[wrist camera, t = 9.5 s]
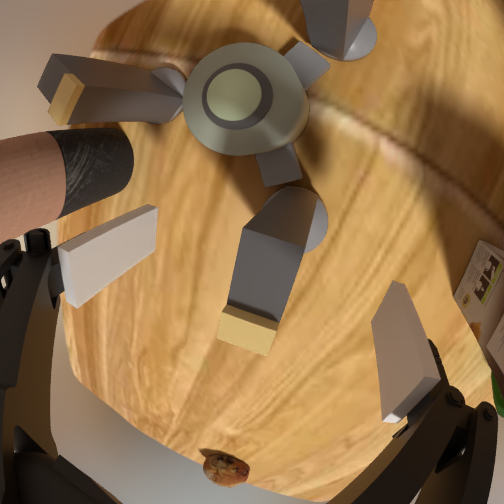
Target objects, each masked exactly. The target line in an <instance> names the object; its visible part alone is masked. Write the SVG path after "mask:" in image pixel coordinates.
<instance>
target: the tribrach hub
mask: <svg viewBox="0 0 504 504" xmlns="http://www.w3.org/2000/svg"><path fill="white" fill-rule="evenodd" d="M329 69H330V63H328V62H327V61H326V60H325V59H323V58H322V57H321V56H320V55H318V54H317V53H316V52H314V51H313V50H312V49H311V48H309V47H308V46H306V45H305V44H304V43H302V42H301V41H299V42H298V43H297V44H296V45H295V46H294V47H293V48H292V49H291V50H290V51H288V52H287V53H286V54H285V55H284V56H282V55H281V54H280V53H278V52H277V51H275V50H273V49H271V48H269V47H267V46H264V45H261V44H257V43H249V42H243V43H234V44H229V45H226V46H223V47H220V48H218V49H216V50H214V51H212V52H211V53H209V54H208V55H207V56H205V57H204V58H203V59H202V60H201V61H200V62H199V63H198V64H197V65H196V66H195V68H194V69H193V70H192V72H191V74H190V75H189V77H188V79H187V82H186V85H185V88H184V92H183V113H184V117H185V120H186V123H187V125H188V127H189V129H190V130H191V132H192V133H193V135H194V136H195V137H196V138H197V139H198V140H199V141H200V142H201V143H202V144H203V145H205V146H206V147H208V148H209V149H211V150H213V151H216V152H218V153H221V154H226V155H232V156H244V155H251V154H255V157H256V160H257V163H258V167H259V170H260V173H261V177H262V180H263V183H264V186H265V188H267V187H271V186H275V185H279V184H283V183H287V182H291V181H295V180H299V179H302V178H303V175H302V172H301V168H300V165H299V161H298V158H297V154H296V151H295V147H294V144H293V142H294V141H295V140H296V139H297V138H298V137H299V135H300V134H301V133H302V131H303V130H304V128H305V126H306V124H307V121H308V117H309V102H308V97H307V94H306V92H305V91H306V90H307V89H308V88H309V87H310V86H311V85H312V84H313V83H315V82H316V81H317V80H318V79H319V78H320V77H321V76H322V75H323V74H324V73H325V72H326V71H327V70H329Z"/></svg>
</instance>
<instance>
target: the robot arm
mask: <svg viewBox="0 0 504 504" xmlns="http://www.w3.org/2000/svg"><path fill="white" fill-rule="evenodd" d="M157 216H158V207H155V206H152V205H149V204H147V205H144V206H142V207H140V208H137V209H135V210H133V211H130V212H128V213H126V214H124V215H121V216H119V217H117V218H115V219H112V220H110V221H108V222H106V223H104V224H102V225H100V226H97V227H95V228H93V229H91V230H89V231H87V232H84V233H82V234H80V235H78V236H77V237H74V238H72V239H71V240H68V241H66V242H64V243H62V244H60V245H58V246H56V247H55V248H53V249H51V240H50V232H49V231H48V230H47V229H44V228H37V229H33V230H30V231H28V232H26V233H25V234H24V242H25V248H26V252H25V251H21V245H20V241H19V240H16V239H8V240H6V241H4V242H2V243H1V244H0V504H122V503H121V502H120V501H119V500H118V499H117V498H116V497H114V496H113V495H112V494H111V493H110V492H108V491H107V490H106V489H104V488H103V487H102V486H100V485H99V484H98V483H96V482H95V481H94V480H93V479H91V478H90V477H89V476H87V475H86V474H84V473H83V472H82V471H80V470H79V469H78V468H76V467H75V466H74V465H72V464H71V463H70V462H69V461H67V460H66V459H65V458H64V457H62V456H61V455H59V456H58V452H57V448H56V444H55V442H54V439H53V437H52V434H51V429H50V428H51V427H50V383H51V367H52V366H51V365H52V356H53V345H54V338H55V331H56V324H57V318H58V312H59V307H60V295H59V294H61V293H62V292H63V291H65V296H66V301H67V302H68V303H69V304H71V305H72V306H74V307H76V308H77V309H78V308H79V307H80V306H81V305H83V304H84V303H85V302H87V301H88V300H89V299H90V298H92V297H93V296H94V295H96V294H97V293H98V292H99V291H101V290H102V289H103V288H105V287H106V286H107V285H109V284H110V283H111V282H113V281H114V280H115V279H117V278H118V277H119V276H121V275H122V274H124V273H125V272H126V271H128V270H129V269H130V268H132V267H133V266H135V265H136V264H137V263H139V262H140V261H141V260H143V259H144V258H146V257H147V256H149V255H150V254H151V253H153V252H154V251H155V243H156V229H157ZM3 276H4V279H5V282H6V287H5V288H3V287H2V283H1V279H2V277H3ZM371 324H372V331H373V337H374V344H375V351H376V358H377V367H378V375H379V385H380V397H381V410H382V422H390V423H399V422H400V421H401V420H402V419H403V418H404V417H405V416H406V415H407V420H408V423H407V424H406V425H405V426H404V427H402V428H401V429H400V430H399V431H398V432H397V433H395V434H394V435H393V436H392V437H393V440H392V441H391V442H390V443H389V444H388V445H387V447H386V448H385V449H384V450H383V451H382V452H381V453H380V454H379V455H378V456H377V458H376V459H375V460H374V461H373V462H372V463H371V464H370V465H369V466H368V467H367V468H366V469H365V470H364V471H363V472H362V473H361V474H360V475H359V476H358V477H357V478H356V479H354V480H353V481H352V482H351V483H350V484H349V485H348V486H347V487H346V488H345V489H343V490H342V491H341V492H340V493H339V494H338V495H336V496H335V497H334V498H333V499H332V500H330V501H329V502H328V503H327V504H410V502H411V501H412V500H413V499H414V497H415V496H416V494H417V493H418V491H419V490H420V489H421V491H420V493H419V495H418V498H417V500H416V502H415V504H487V501H488V497H489V492H490V488H491V483H492V477H493V471H494V464H495V456H496V446H497V432H498V415H497V412H496V409H495V408H494V406H493V405H491V404H490V403H488V402H486V401H484V402H481V403H480V404H479V405H478V406H477V407H476V408H475V409H474V408H472V407H470V406H467V405H465V399H464V397H463V395H462V393H461V392H460V391H459V390H458V389H457V388H455V387H454V386H450V385H449V382H448V379H447V376H446V373H445V370H444V367H443V365H442V361H441V358H439V357H440V355H439V353H438V350H437V348H436V346H435V345H434V344H433V342H432V341H431V340H430V339H427V337H426V334H425V331H424V329H423V326H422V324H421V321H420V319H419V316H418V314H417V311H416V309H415V307H414V304H413V302H412V300H411V297H410V295H409V293H408V290H407V288H406V286H405V284H402V283H399V282H396V281H392V283H391V285H390V287H389V289H388V291H387V293H386V295H385V297H384V299H383V301H382V303H381V304H380V306H379V308H378V310H377V312H376V314H375V316H374V317H373V319H372V321H371ZM14 450H15V451H16V452H15V453H14ZM463 451H464V453H463V455H462V452H463ZM421 487H422V488H421Z"/></svg>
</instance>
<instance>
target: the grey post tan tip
mask: <svg viewBox="0 0 504 504" xmlns="http://www.w3.org/2000/svg"><path fill="white" fill-rule="evenodd" d="M186 82H187V80H186V78H185V77H184V75H183V74H182V73H180V72H179V71H177V70H174V69H171V68H167V67H162V68H157V69H155V70H153V71H151V72H150V71H149V70H145V69H141V68H137V67H133V66H128V65H124V64H119V63H115V62H109V61H104V60H99V59H93V58H86V57H78V56H71V55H63V54H52V55H51V57H50V59H49V61H48V63H47V66H46V68H45V70H44V72H43V74H42V76H41V79H40V81H39V83H38V86H37V87H38V88H39V90H40V91H41V92H42V94H43V95H44V96H45V97H46V99H47V100H48V102H49V103H50V104H51V105H50V107H49V110H48V113H49V114H50V115H51V117H52V118H53V119H54V121H55V122H56V123H57V125H58V126H59V125H69V124H81V123H97V122H148V123H152V124H163V123H167V122H170V121H172V120H173V119H175V118H176V117H177V116H178V115H179V114H180V113H181V112H182V110H183V92H184V88H185V85H186Z"/></svg>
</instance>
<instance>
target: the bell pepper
mask: <svg viewBox="0 0 504 504" xmlns="http://www.w3.org/2000/svg"><path fill="white" fill-rule="evenodd" d="M491 380H492V390H493V398H494V403H495V406H496V410H497V413H498V414H499V415H500V416H501V417H504V400H503V398H502V395H501V392H500V390H499V387H498V385H497V382H496V380H495V377H494V375H493V373H492V372H491Z"/></svg>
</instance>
